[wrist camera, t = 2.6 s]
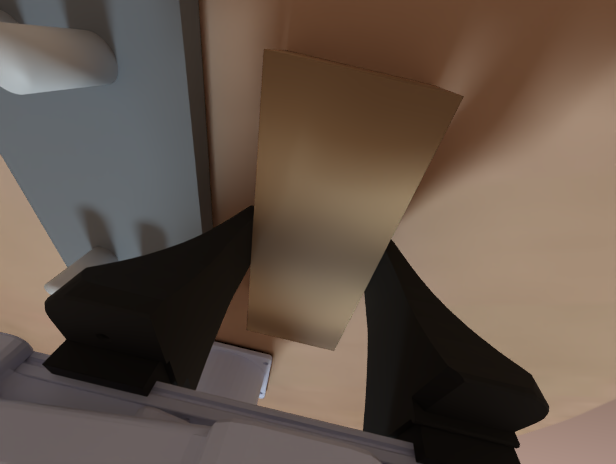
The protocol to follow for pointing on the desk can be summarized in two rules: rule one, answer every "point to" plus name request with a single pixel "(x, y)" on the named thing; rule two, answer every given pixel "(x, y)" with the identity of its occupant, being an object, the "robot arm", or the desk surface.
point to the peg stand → (106, 124)
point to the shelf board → (332, 187)
